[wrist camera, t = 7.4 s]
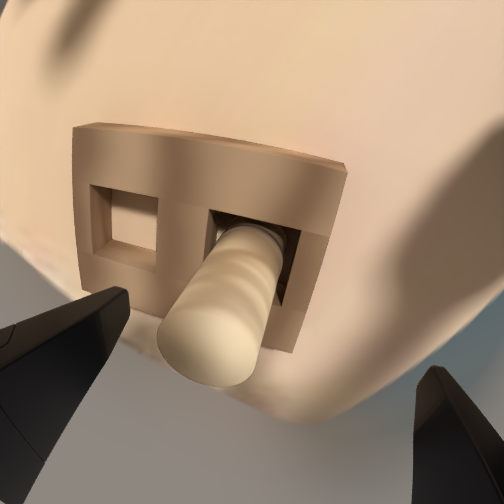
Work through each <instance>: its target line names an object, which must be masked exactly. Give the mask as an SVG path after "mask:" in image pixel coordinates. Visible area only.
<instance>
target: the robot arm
mask: <svg viewBox="0 0 504 504" xmlns="http://www.w3.org/2000/svg"><path fill="white" fill-rule="evenodd" d="M129 316H130V302H129V292H128V290H126V289H125V288H122V287H119V286H113V287H110V288H107V289H105V290H102V291H99V292H97V293H94V294H91V295H89V296H86V297H83V298H81V299H78V300H75V301H73V302H70V303H68V304H65V305H62V306H60V307H57V308H55V309H52V310H50V311H47V312H44V313H41V314H39V315H36V316H34V317H31V318H29V319H26V320H23V321H21V322H18V323H16V324H13V325H10V326H8V327H5V328H3V329H0V500H1V501H2V502H3V503H5V504H23V503H24V501H25V499H26V497H27V495H28V493H29V492H30V490H31V488H32V486H33V484H34V482H35V480H36V479H37V477H38V475H39V473H40V471H41V470H42V468H43V466H44V464H45V461H46V460H47V458H48V457H49V455H50V453H51V451H52V450H53V448H54V446H55V444H56V443H57V441H58V439H59V437H60V436H61V434H62V432H63V431H64V429H65V427H66V426H67V424H68V422H69V421H70V419H71V417H72V416H73V414H74V412H75V411H76V409H77V407H78V406H79V404H80V402H81V401H82V399H83V398H84V396H85V394H86V393H87V391H88V390H89V388H90V387H91V385H92V383H93V382H94V380H95V379H96V377H97V375H98V374H99V372H100V371H101V369H102V368H103V366H104V365H105V363H106V361H107V360H108V358H109V356H110V354H111V352H112V350H113V349H114V347H115V345H116V342H117V341H118V339H119V337H120V335H121V333H122V331H123V329H124V327H125V325H126V323H127V321H128V319H129ZM411 504H504V441H503V440H502V438H501V437H500V436H499V434H498V433H497V432H496V430H495V429H494V428H493V426H492V425H491V424H490V423H489V421H488V420H487V419H486V418H485V416H484V415H483V414H482V413H481V411H480V410H479V409H478V407H477V406H476V405H475V404H474V403H473V401H472V400H471V399H470V398H469V396H468V395H467V394H466V393H465V391H464V390H463V389H462V388H461V386H460V385H459V384H458V383H457V382H456V381H455V379H454V378H453V377H452V376H451V375H450V374H449V372H448V371H447V370H446V369H445V368H444V367H442V366H436V365H433V366H431V367H430V368H429V369H428V370H427V372H426V373H425V375H424V376H423V377H422V379H421V380H420V381H419V383H418V385H417V389H416V403H415V420H414V432H413V486H412V502H411Z"/></svg>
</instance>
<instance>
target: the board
mask: <svg viewBox="0 0 504 504" xmlns="http://www.w3.org/2000/svg"><path fill="white" fill-rule="evenodd" d="M346 177H347V170H346V168H345V165H344V163H340V162H337V161H333V160H329V159H325V158H321V157H317V156H313V155H308V154H304V153H300V152H295V151H291V150H286V149H282V148H277V147H272V146H267V145H262V144H257V143H252V142H247V141H241V140H236V139H230V138H224V137H218V136H212V135H206V134H199V133H192V132H185V131H178V130H170V129H162V128H153V127H144V126H134V125H123V124H111V123H92V124H87V125H82V126H77V127H73V138H72V184H73V208H74V223H75V235H76V246H77V255H78V263H79V271H80V278H81V285H82V290H85V291H87V292H90V293H93V294H94V293H97V292H99V291H102V290H105V289H107V288H110V287H113V286H119V287H122V288H125V289H126V290H128V292H129V302H130V307H132V308H134V309H137V310H140V311H143V312H146V313H149V314H152V315H155V316H159V317H162V318H165V317H166V316H167V314H168V313H169V311H170V310H171V308H172V307H173V305H174V304H175V302H176V301H177V299H178V298H179V296H180V295H181V294H182V292H183V291H184V289H185V288H186V286H187V285H188V283H189V282H190V281H191V279H192V278H193V276H194V275H195V273H196V272H197V270H198V269H199V268H200V266H201V265H202V263H203V262H204V260H205V259H206V258H207V256H208V255H209V253H210V252H211V250H212V249H213V248H214V246H215V244H216V236H217V228H218V221H219V213H220V211H222V212H226V213H230V214H235V215H239V216H244V217H248V218H252V219H257V220H261V221H265V222H269V223H274V224H278V225H282V226H286V227H290V228H294V229H298V230H300V233H299V237H298V241H297V245H296V249H295V253H294V256H293V260H292V264H291V268H290V272H289V276H288V279H287V283H286V285H285V284H281V283H277V286H276V290H275V293H274V297H273V301H272V305H271V309H270V313H269V316H268V320H267V324H266V328H265V331H264V335H263V339H262V342H261V346H263V347H267V348H271V349H275V350H280V351H284V352H288V353H292V352H293V349H294V346H295V343H296V340H297V338H298V335H299V332H300V329H301V326H302V323H303V320H304V317H305V314H306V311H307V308H308V305H309V302H310V299H311V296H312V293H313V290H314V287H315V284H316V281H317V278H318V274H319V271H320V268H321V265H322V262H323V258H324V255H325V252H326V248H327V245H328V242H329V238H330V235H331V231H332V228H333V224H334V221H335V217H336V214H337V210H338V207H339V203H340V199H341V196H342V192H343V188H344V184H345V181H346ZM111 188H112V189H117V190H122V191H127V192H132V193H137V194H142V195H147V196H152V197H157V198H158V216H157V242H156V251H153V250H149V249H145V248H142V247H138V246H134V245H131V244H127V243H123V242H120V241H116V240H113V239H112V227H111Z"/></svg>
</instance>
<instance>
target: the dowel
mask: <svg viewBox="0 0 504 504" xmlns="http://www.w3.org/2000/svg"><path fill="white" fill-rule="evenodd" d="M286 245H287V240H286V235H285V232H284V230H283V228H282V226H281V225H278V224H274V223H269V222H265V221H261V220H257V219H252V218H248V217H244V216H238V217H237V218H235V219H234V220H233V221H232V222H231V224H230V225H229V227H228V228H227V229H226V231H225V232H224V233H223V234H222V235H221V236H220V238H219V239H218V240H217V242H216V244H215V246H214V248H213V249H212V250H211V252H210V253H209V255H208V256H207V258H206V259H205V260H204V262H203V263H202V265H201V266H200V268H199V269H198V270H197V272H196V273H195V275H194V276H193V278H192V279H191V281H190V282H189V283H188V285H187V286H186V288H185V289H184V291H183V292H182V294H181V295H180V296H179V298H178V299H177V301H176V302H175V304H174V305H173V307H172V308H171V310H170V311H169V313H168V314H167V316H166V317H165V319H164V320H163V321H162V323H161V324H160V326H159V328H158V332H157V343H158V347H159V349H160V352H161V353H162V355H163V357H164V358H165V360H166V361H167V362H168V363H169V364H170V366H172V367H173V368H174V369H175V370H176V371H177V372H179V373H180V374H182V375H183V376H185V377H186V378H188V379H190V380H192V381H195V382H197V383H200V384H203V385H207V386H213V387H228V386H234V385H237V384H240V383H241V382H243V381H245V380H246V379H248V378H249V376H250V375H251V374H252V372H253V370H254V368H255V364H256V361H257V357H258V353H259V350H260V346H261V342H262V339H263V335H264V331H265V328H266V324H267V320H268V316H269V313H270V309H271V305H272V301H273V297H274V293H275V290H276V286H277V282H278V278H279V275H280V273H281V270H282V266H283V258H284V254H285V250H286Z"/></svg>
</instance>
